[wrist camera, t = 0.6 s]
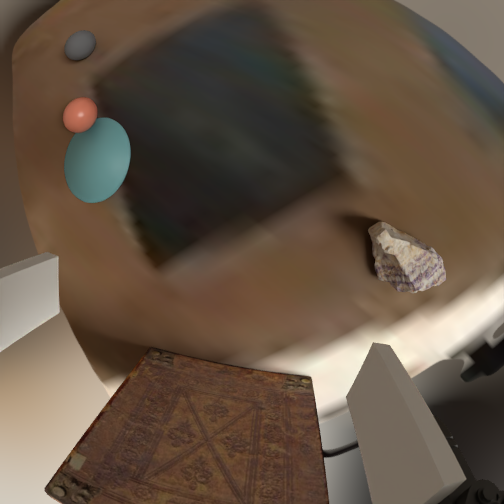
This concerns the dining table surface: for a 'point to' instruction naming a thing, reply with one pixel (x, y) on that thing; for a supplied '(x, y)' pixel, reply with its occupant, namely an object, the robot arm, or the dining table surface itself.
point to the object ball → (80, 115)
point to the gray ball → (80, 45)
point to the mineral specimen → (404, 260)
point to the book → (199, 439)
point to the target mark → (97, 161)
